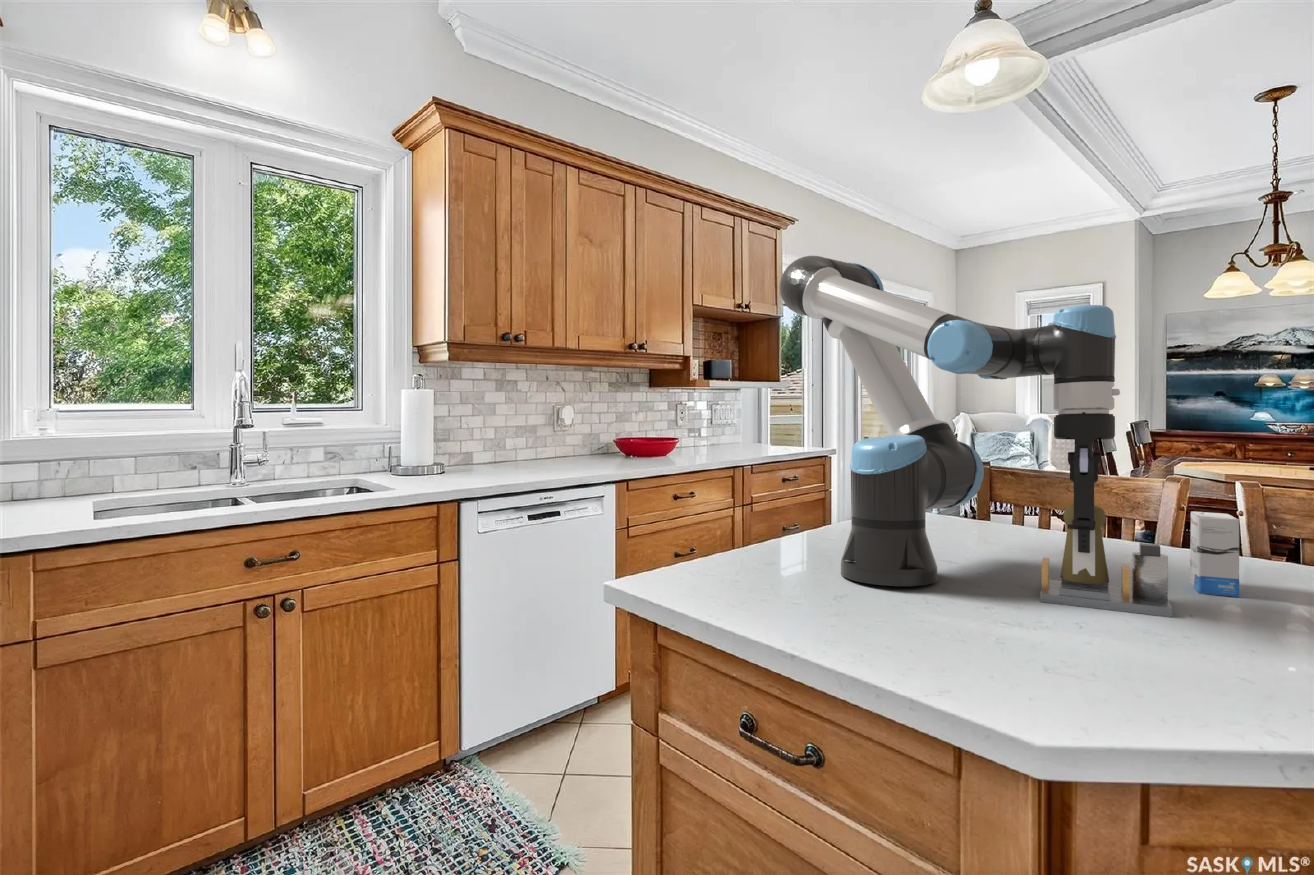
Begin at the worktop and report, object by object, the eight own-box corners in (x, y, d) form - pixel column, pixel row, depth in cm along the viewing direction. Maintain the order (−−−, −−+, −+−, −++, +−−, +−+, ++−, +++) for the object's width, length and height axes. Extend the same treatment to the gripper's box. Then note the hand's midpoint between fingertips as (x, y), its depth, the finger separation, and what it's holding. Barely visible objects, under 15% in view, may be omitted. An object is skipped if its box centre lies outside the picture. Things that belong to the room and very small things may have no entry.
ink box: (1241, 598, 96) (1241, 518, 96) (1197, 594, 99) (1197, 516, 99) (1228, 586, 103) (1228, 512, 103) (1188, 583, 106) (1188, 510, 106)
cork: (1117, 584, 92) (1117, 507, 92) (1070, 583, 94) (1070, 506, 93) (1097, 575, 98) (1097, 502, 98) (1053, 574, 99) (1053, 502, 99)
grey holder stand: (1040, 601, 94) (1040, 542, 94) (1044, 586, 103) (1044, 532, 103) (1172, 617, 86) (1172, 552, 86) (1163, 599, 95) (1163, 540, 95)
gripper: (1117, 410, 87) (1117, 586, 87) (1112, 413, 101) (1112, 564, 101) (1051, 411, 91) (1051, 579, 91) (1056, 414, 105) (1056, 559, 105)
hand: (1083, 571), depth 96 cm, fingers closed on cork, 4 cm apart
